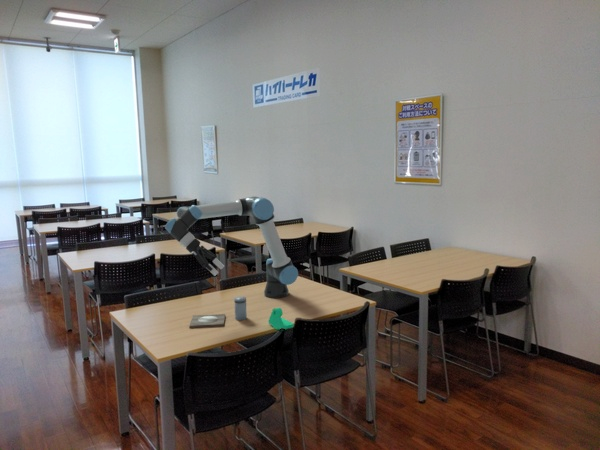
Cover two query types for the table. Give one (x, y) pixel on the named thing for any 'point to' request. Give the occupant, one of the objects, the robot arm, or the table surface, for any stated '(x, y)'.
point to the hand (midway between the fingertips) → (220, 271)
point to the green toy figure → (279, 320)
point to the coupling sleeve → (240, 308)
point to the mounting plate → (207, 321)
